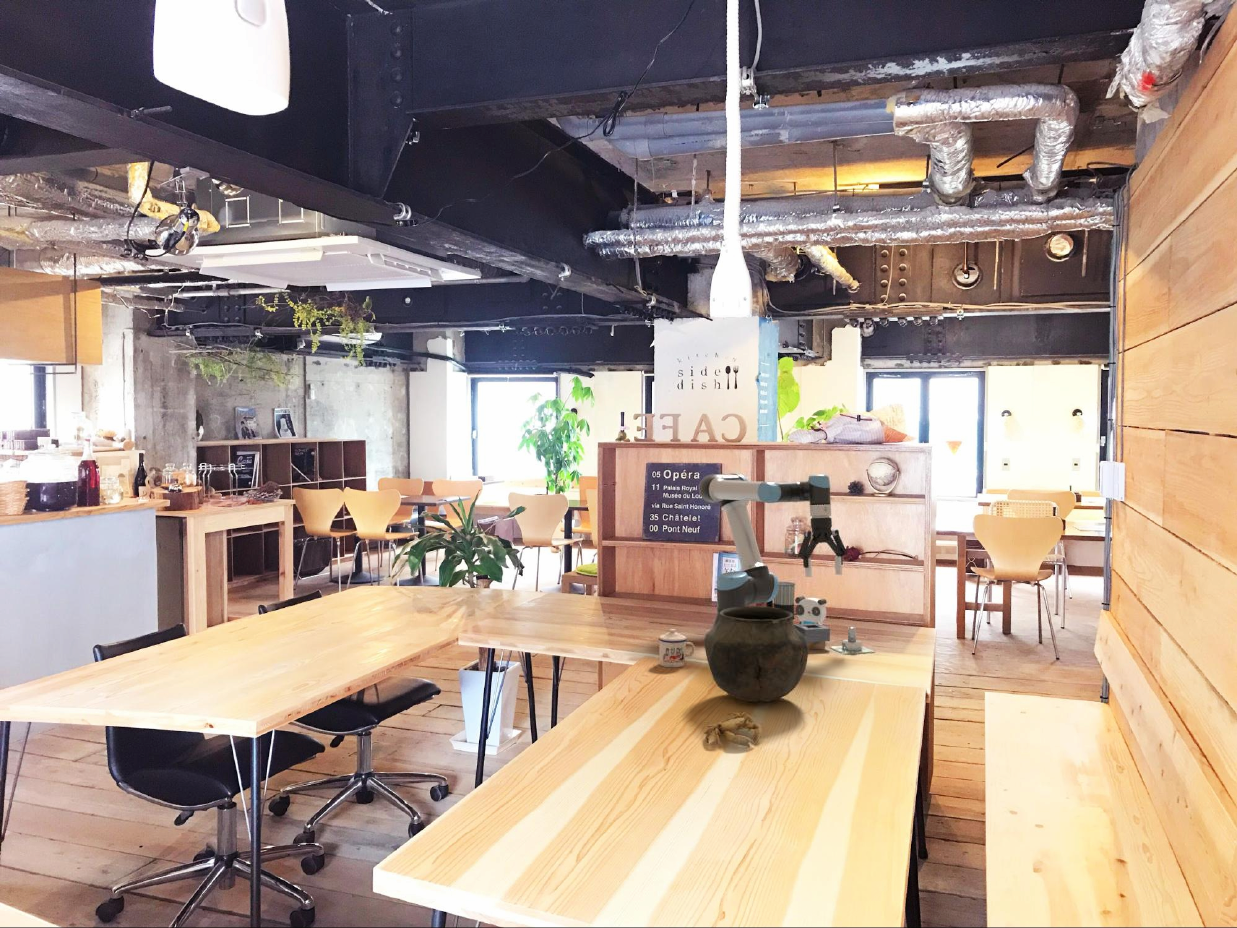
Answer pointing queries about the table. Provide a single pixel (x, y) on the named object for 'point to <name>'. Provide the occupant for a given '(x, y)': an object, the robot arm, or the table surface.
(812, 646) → the stand
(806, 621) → the panda figurine
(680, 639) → the teacup with lid
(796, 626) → the grey square block
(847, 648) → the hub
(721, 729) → the crab model
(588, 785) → the table surface
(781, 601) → the milk frother
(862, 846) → the table surface
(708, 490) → the robot arm
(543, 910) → the table surface
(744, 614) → the pot
